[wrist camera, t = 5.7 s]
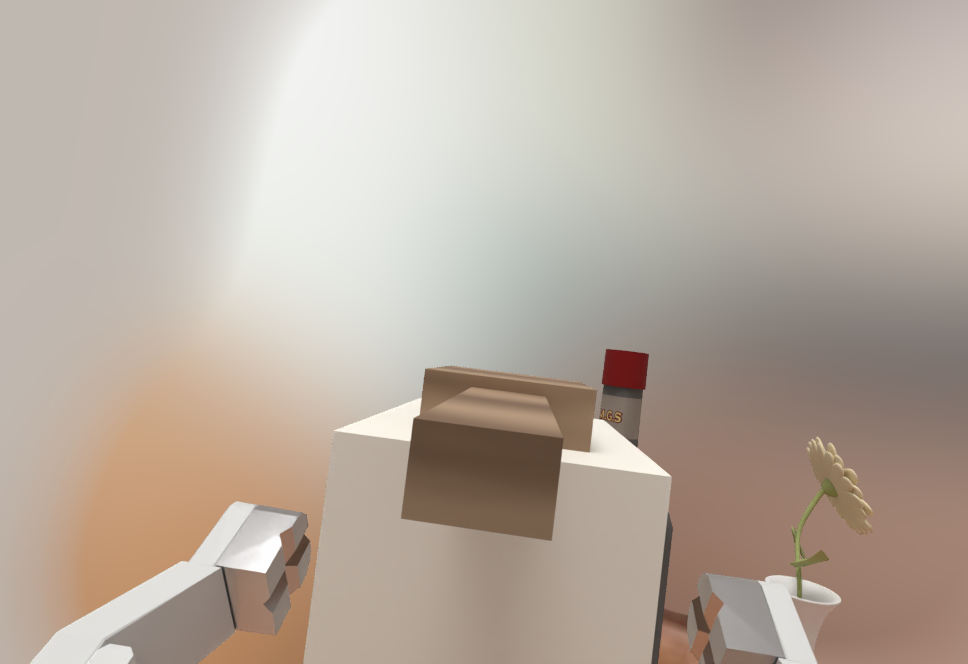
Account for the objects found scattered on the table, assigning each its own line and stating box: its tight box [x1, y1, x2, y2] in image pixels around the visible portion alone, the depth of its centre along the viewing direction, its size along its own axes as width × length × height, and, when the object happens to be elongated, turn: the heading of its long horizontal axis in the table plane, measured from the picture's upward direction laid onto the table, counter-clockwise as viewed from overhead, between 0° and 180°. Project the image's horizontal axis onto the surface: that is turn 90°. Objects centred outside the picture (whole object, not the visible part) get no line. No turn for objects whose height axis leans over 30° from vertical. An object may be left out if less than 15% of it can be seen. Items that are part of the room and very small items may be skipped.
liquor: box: [599, 349, 673, 664], centre depth 49 cm, size 9×9×30 cm
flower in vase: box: [765, 437, 873, 653], centre depth 44 cm, size 13×11×25 cm
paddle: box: [401, 366, 597, 541], centre depth 21 cm, size 20×7×2 cm, turn 176°
